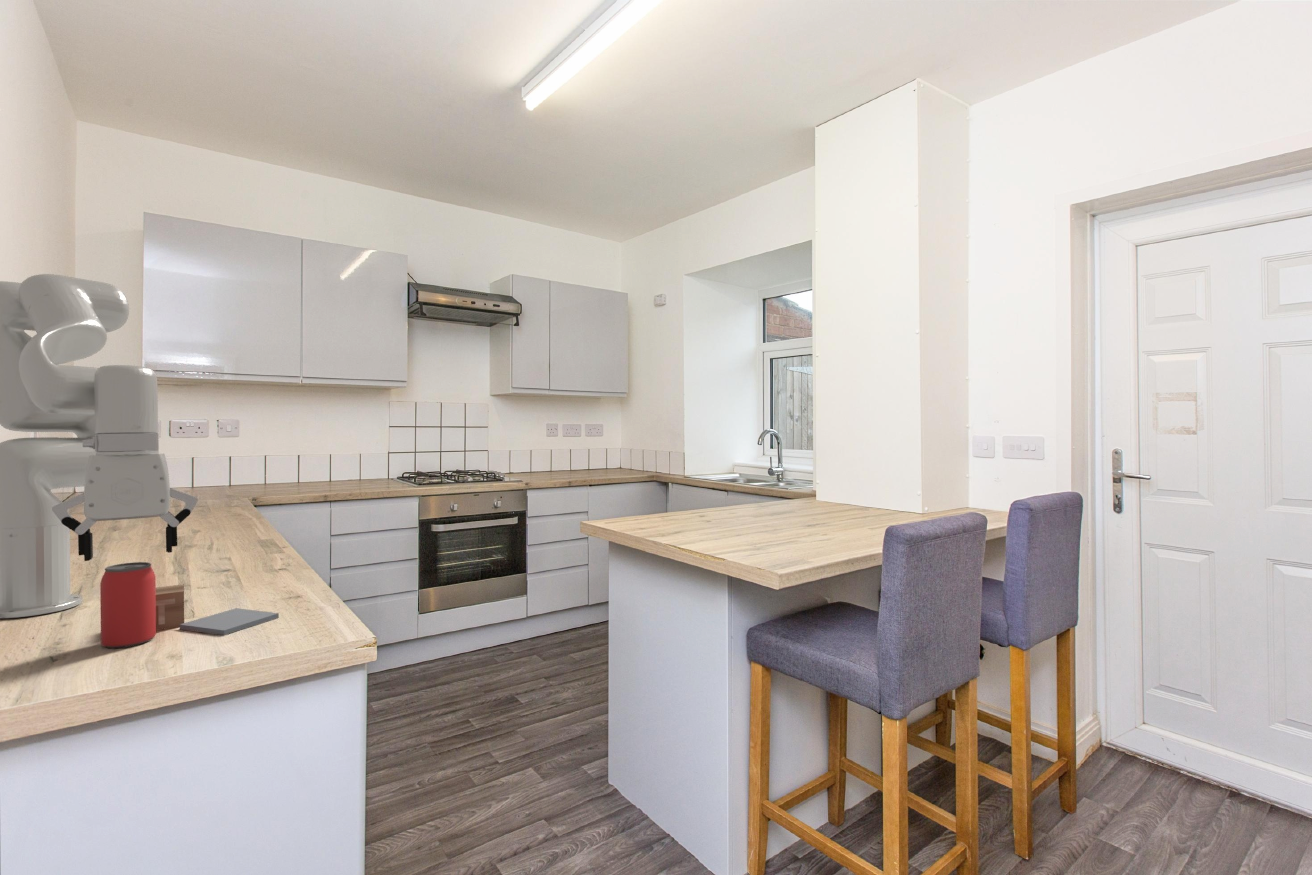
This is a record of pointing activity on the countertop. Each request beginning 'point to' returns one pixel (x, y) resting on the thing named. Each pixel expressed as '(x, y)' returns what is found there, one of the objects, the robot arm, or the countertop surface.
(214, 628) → the grey mat
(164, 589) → the letter block
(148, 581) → the beer can
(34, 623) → the countertop surface
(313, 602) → the countertop surface
